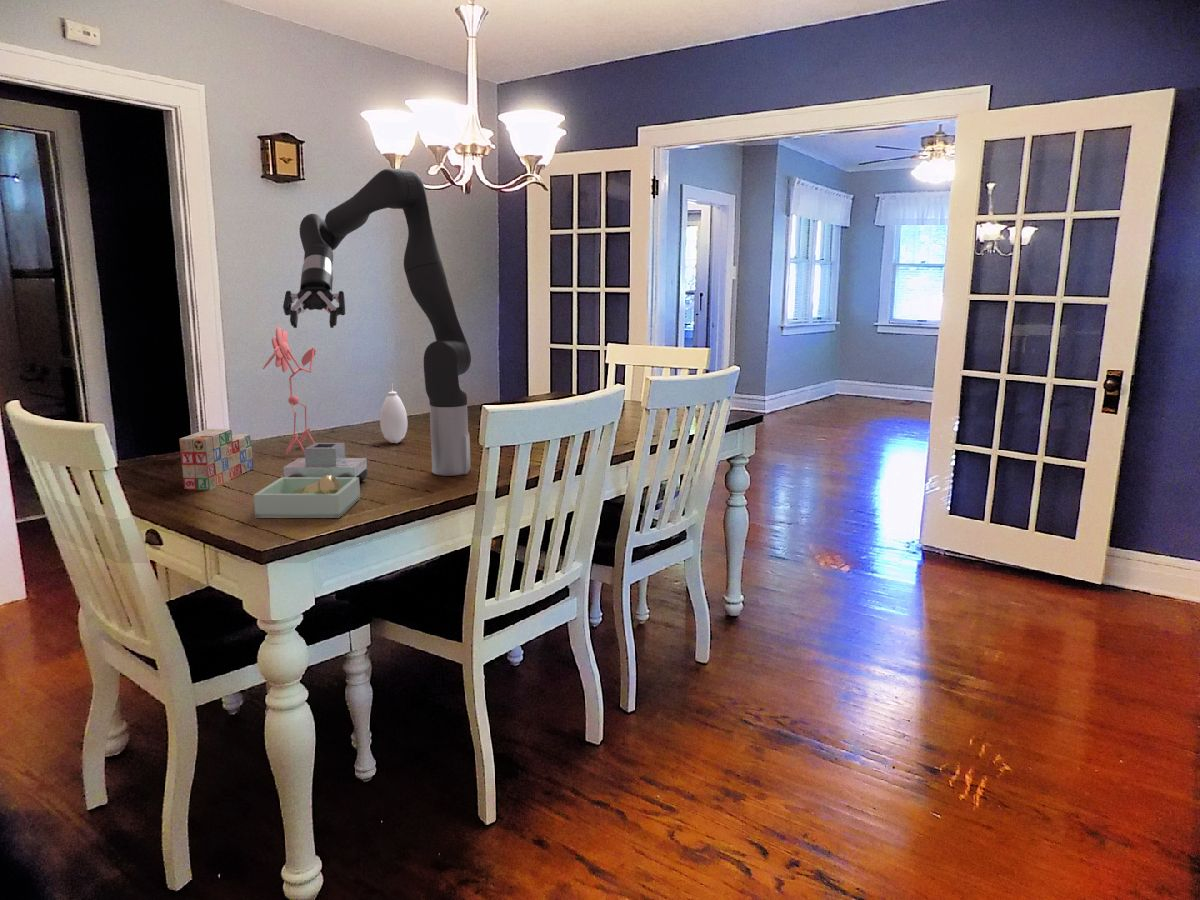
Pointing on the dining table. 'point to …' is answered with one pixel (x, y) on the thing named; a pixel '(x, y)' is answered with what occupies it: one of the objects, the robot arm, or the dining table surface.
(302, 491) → the pin
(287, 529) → the dining table surface
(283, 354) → the figurine
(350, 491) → the tray
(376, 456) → the dining table surface
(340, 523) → the dining table surface
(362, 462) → the trolley
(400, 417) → the sauce bottle
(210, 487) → the stack of blocks
